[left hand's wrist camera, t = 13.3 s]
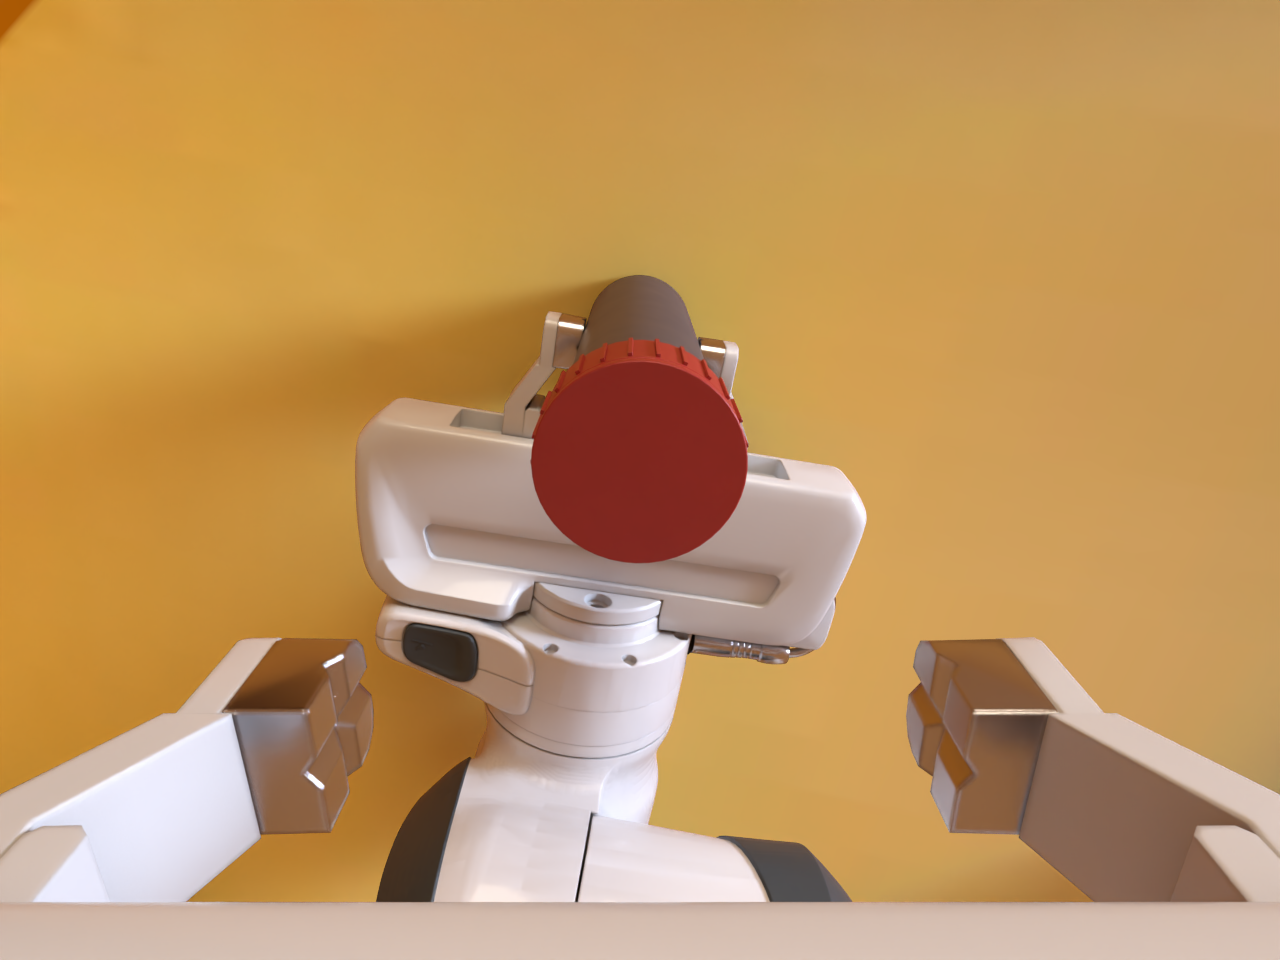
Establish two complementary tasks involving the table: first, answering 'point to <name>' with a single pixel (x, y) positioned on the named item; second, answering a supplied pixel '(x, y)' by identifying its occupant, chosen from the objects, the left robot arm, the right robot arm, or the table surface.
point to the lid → (639, 452)
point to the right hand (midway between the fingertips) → (642, 328)
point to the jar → (639, 316)
